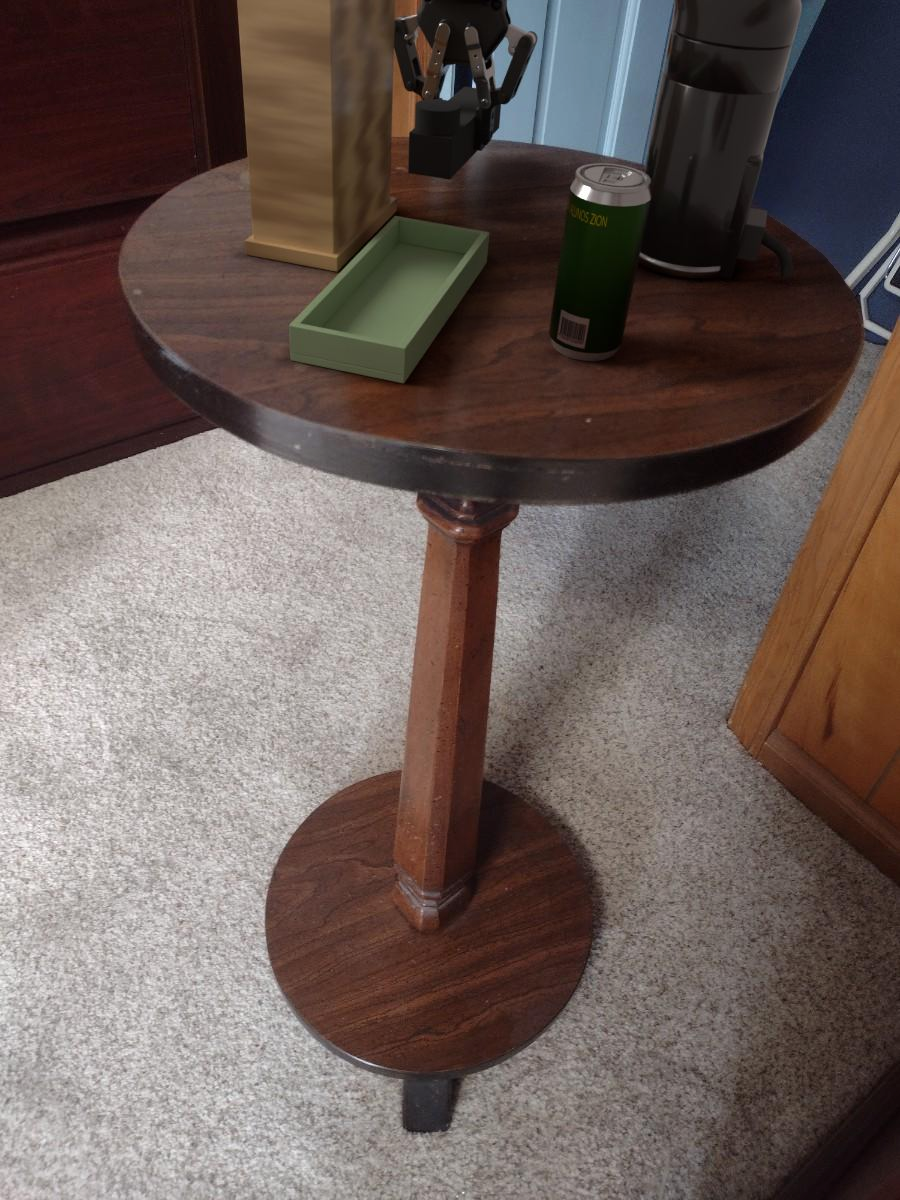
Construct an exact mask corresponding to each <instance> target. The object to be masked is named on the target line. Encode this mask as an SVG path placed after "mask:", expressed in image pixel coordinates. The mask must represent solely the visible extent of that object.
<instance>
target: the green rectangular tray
mask: <svg viewBox="0 0 900 1200" xmlns="http://www.w3.org/2000/svg"><path fill="white" fill-rule="evenodd" d="M489 242H490V232H489V231H484V230H478V229H472V228H467V227H462V226H456V225H449V224H444V223H439V222H433V221H427V220H422V219H416V218H410V217H404V216H398V215H393V217H392V218H391V219H390V220H388V222H387V223H386V224H385V226H384V227H382V229H380V231H379V232H378V233H377V234H376V235H374V236H373V237H372V239H371V240H369V242H368V243H366V245H365V246H364V247H363V248H362V249H361V250H360V251H359V252H358V253H357V254H356V255H355V256H354V257H353V259H351V260H350V261H349V262H348V264H346V266H345V267H344V268H342V270H341V271H340V272H339V273H338V274H337V275H336V276H335V277H334V278H333V279H332V280H331V281H330V282H329V283H328V284H327V285H326V286H325V288H323V289H322V290H321V292H319V294H318V295H317V296H316V297H315V298H314V299H313V300H312V301H311V302H309V304H308V305H307V306H306V307H305V308H304V309H303V310H302V311H301V312H299V314H298V315H297V316H296V317H295V318H294V319H293V320H292V322H290V324H289V325H288V331H289V332H288V333H289V352H290V353H289V354H290V357H289V358H290V361H293V362H298V363H301V364H307V365H311V366H317V367H322V368H327V369H330V370H336V371H342V372H345V373H350V374H355V375H361V376H365V377H370V378H374V379H380V380H385V381H388V382H393V383H399V384H405V383H406V381H408V380H407V379H409V377H410V375H411V374H412V373H413V371H414V370H415V368H416V366H418V364H419V363H420V361H421V359H422V358H423V357H424V355H425V353H426V352H427V350H428V349H429V348H430V346H431V345H432V343H433V342H434V340H435V339H436V338H437V336H438V335H439V333H440V332H441V330H442V328H443V327H444V326H445V324H446V323H447V321H448V320H449V319H450V317H451V316H452V315H453V313H454V311H455V310H456V309H457V307H458V306H459V304H460V302H461V301H462V299H463V298H464V297H465V296H466V294H467V293H468V290H469V289H470V288H471V286H472V285H473V283H474V282H475V280H476V279H477V278H478V276H479V275H480V274H481V272H482V270H483V269H484V267H485V266H486V265H487V262H488V253H489Z"/></svg>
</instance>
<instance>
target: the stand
mask: <svg viewBox="0 0 900 1200" xmlns="http://www.w3.org/2000/svg"><path fill="white" fill-rule="evenodd" d="M236 2H237V3H236V5H237V19H238V31H239V46H240V47H239V48H240V63H241V64H240V65H241V76H242V78H241V80H242V93H243V106H244V107H243V109H244V123H245V136H246V137H245V138H246V150H247V167H248V181H249V184H248V185H249V196H250V197H249V198H250V212H251V227H252V228H251V229H252V234H251V235H250V236H249V237H247V238H246V239H244V248H245V255H246V256H251V257H256V258H262V259H266V260H272V261H278V262H283V263H288V264H294V265H299V266H304V267H310V268H315V269H321V270H324V271H325V270H326V271H331V272H336V273H338V272H339V271H340V270H341V269H342V268H343V267H344V266H345V265H346V264H347V263H348V262H349V261H350V259H351V258H353V256H354V255H355V254H357V252H358V251H359V250H360V249H361V248H362V247H363V246H364V245H365V244H367V242H368V241H370V239H371V238H373V237H374V236H375V234H376V233H377V232H378V231H379V230H381V229H380V228H382V227H383V226H384V224H385V223H387V221H389V219H390V218H391V217H392V216H394V215H395V213H397V211H398V210H397V209H398V208H397V207H398V198H397V197H393V196H391V177H392V176H391V171H392V138H393V137H392V136H393V133H392V132H393V128H392V127H393V101H394V97H393V94H394V65H395V62H394V60H395V49H394V26H395V19H396V0H236Z"/></svg>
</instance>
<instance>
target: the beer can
mask: <svg viewBox="0 0 900 1200" xmlns="http://www.w3.org/2000/svg"><path fill="white" fill-rule="evenodd" d="M574 176H575V178H574V180H573V181H572V183H571V184H570V187H569V192H568V198H567V205H566V211H565V212H566V213H565V219H564V225H563V231H562V239H561V246H560V253H559V260H558V265H557V266H558V267H557V272H556V273H557V274H556V280H555V286H554V287H555V288H554V294H553V300H552V301H553V302H552V306H551V307H552V308H551V315H550V321H549V328H548V334H549V337H550V341H551V344H552V347H553V349H555V351H556V352H558V353H559V354H561V355H563V356H564V357H567V358H571V359H573V360H577V361H583V362H598V361H604V360H608V359H610V358H612V357H613V356H614V355H615V354H616V353H617V352H618V350H619V349H620V348H621V346H622V343H623V340H624V334H625V329H626V324H627V319H628V314H629V310H630V309H629V308H630V305H631V304H630V303H631V299H632V295H633V290H634V285H635V280H636V274H637V270H638V265H639V263H638V260H639V255H640V250H641V245H642V240H643V235H644V230H645V225H646V220H647V215H648V210H649V206H650V201H651V192H650V188H649V186H650V183H651V179H650V177H649V176H648V175H647V174H645V173H644V172H643V170H639V169H637V168H634V167H630V166H627V165H622V164H616V163H602V162H601V163H599V162H598V163H590V164H584V165H581V166H579V167H577V168H576V170H575V175H574Z"/></svg>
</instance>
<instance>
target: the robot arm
mask: <svg viewBox="0 0 900 1200" xmlns="http://www.w3.org/2000/svg"><path fill="white" fill-rule="evenodd" d="M673 1H674V3H673V4H674V5H673V13H672V19H671V24H670V26H671V28H670V29H669V35H668V40H667V45H666V49H665V55H664V61H663V66H662V72H661V76H660V80H659V86H658V91H657V96H656V101H655V106H654V107H655V108H654V112H653V118H652V123H651V127H650V128H651V129H650V133H649V138H648V144H647V148H646V154H645V159H644V164H643V165H644V166H643V170H642V172H644V173H645V174H647V175H648V176H649V177H650V179H651V183H650V186H649V188H650V192H651V201H650V206H649V210H648V215H647V220H646V225H645V230H644V235H643V240H642V245H641V250H640V255H639V260H638V265H640V266H642V267H644V268H646V269H649V270H651V271H654V272H657V273H660V274H663V275H667V276H673V277H678V278H684V279H685V278H686V279H713V278H720V279H721V278H722V279H727V280H731V279H732V278H733V274H734V271H735V267H736V263H737V260H744V261H750V262H757V259H758V255H759V253H760V250H761V245H763V246H764V247H765V248H767V249H769V250H770V251H771V252H773V253H774V254H775V255H776V256H777V258H778V259H779V263H780V277H781V278H785V277H789V276H792V275H793V257H792V254H791V252H790V251H789V249H788V248H787V247H786V245H785V244H784V243H783V242H781V241H780V240H779V239H777V238H776V237H774V236H773V235H771V234H770V233H769V232H767V231H766V226H767V218H768V210H765V209H760V208H753V207H752V203H753V200H754V197H755V193H756V188H757V185H758V181H759V177H760V173H761V169H762V166H763V160H764V155H765V154H764V153H765V149H766V147H767V142H768V138H769V134H770V131H771V127H772V123H773V119H774V115H775V113H776V108H777V105H778V101H779V97H780V94H781V90H782V87H783V82H784V78H785V74H786V71H787V66H788V63H789V59H790V56H791V52H792V48H793V43H794V41H795V38H796V34H797V31H798V27H799V23H800V19H801V15H802V10H803V9H802V8H803V4H802V0H673ZM419 28H420V30H421V32H422V34H423V36H424V37H425V39H426V42H427V43H428V45H429V47H430V48H431V53H430V57H429V60H428V64H427V68H426V77H425V76H424V74H423V69H422V64H421V61H420V58H419V53H418V49H417V45H416V41H417V40H418V38H419ZM505 38H506V39H507V41H508V46H507V51H508V54H509V55H510V56H511V60H510V63H509V65H508V68H507V70H506V74H505V75H504V78H503V80H502V83H501V86H500V87H497V84H496V83H497V82H496V77H495V75H496V67H495V61H494V56H493V54H494V53H495V51H496V50H497V48H498V47H499V46H500V44H501V43H502V42H503V40H504V39H505ZM538 38H539V37H538V34H537V33H536V32H535V31H533V30H530V31H526V30H523V29H522V28H520V27H518V26H516V25H514V24H512V20H511V16H510V14H509V10H508V0H421V3H420V5H419V8H418V10H417V12H416V14H413V15H409V16H406V15H400V16H398V17H397V18H395V26H394V54H395V57H396V60H397V64H398V68H399V73H400V75H401V79H402V84H403V87H404V89H405V90H406V91H407V92H409V93H410V92H412V93H414V94H416V95H418V96H419V97H420V98H421V99H422V100H427V99H441V100H444V99H443V97H441V93H442V90H443V87H444V83H445V80H446V76H447V74H448V71H449V69H450V67H451V66H452V65H458V64H459V65H461V66H463V67H465V68H469V69H470V71H471V77H472V80H473V83H474V84H475V85H474V86H475V88H476V91H477V97H478V102H479V107H478V108H477V109H476V115H475V116H476V124H475V140H474V150H478V151H479V152H482V151H483V150H484V149H485V148H486V146H488V145H489V143H490V142H491V141H492V138H493V136H494V134H493V126H494V113H495V107H496V106H497V105H500V104H501V105H502V106H503V105H504V106H505V105H508V104H509V103H510V102H511V100H512V99H514V98H515V97H516V95H517V92H518V91H519V88H520V86H521V83H522V80H523V78H524V75H525V73H526V70H527V68H528V65H529V63H530V60H531V58H532V55H533V53H534V50H535V48H536V45H537V44H538ZM478 151H477V152H478Z"/></svg>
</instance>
